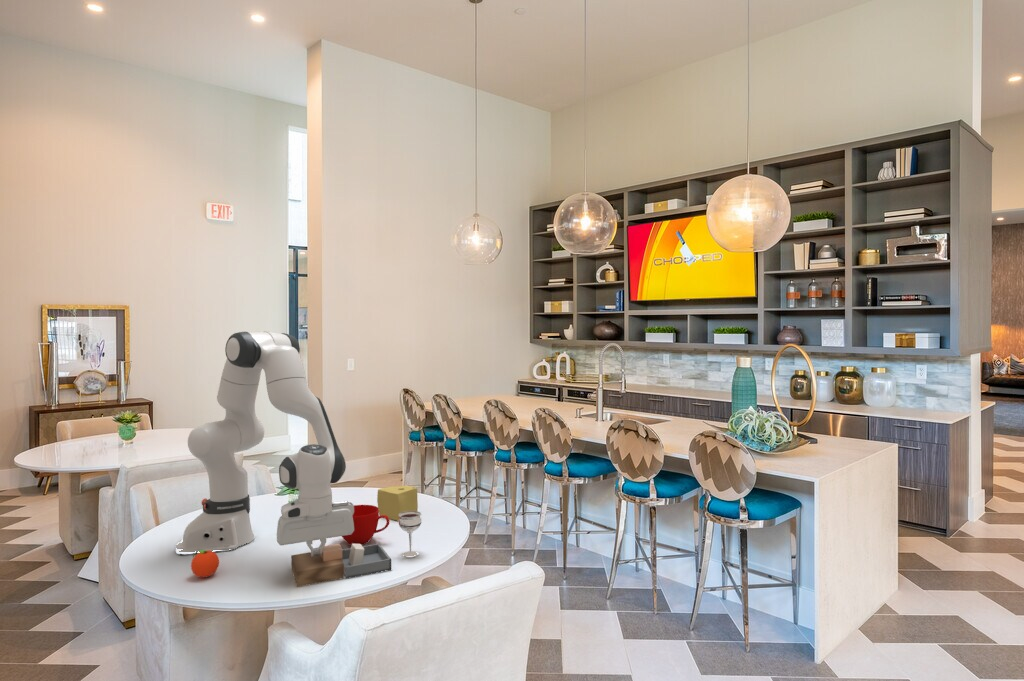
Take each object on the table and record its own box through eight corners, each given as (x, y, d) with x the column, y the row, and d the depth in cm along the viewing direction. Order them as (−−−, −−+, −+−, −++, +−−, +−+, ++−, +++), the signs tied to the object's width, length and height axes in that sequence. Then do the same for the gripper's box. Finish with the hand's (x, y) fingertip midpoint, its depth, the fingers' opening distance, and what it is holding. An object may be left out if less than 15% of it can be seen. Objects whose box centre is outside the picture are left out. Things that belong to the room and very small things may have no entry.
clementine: (182, 579, 166) (181, 553, 166) (203, 569, 173) (202, 544, 172) (204, 583, 163) (204, 556, 163) (225, 573, 170) (224, 547, 170)
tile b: (323, 561, 167) (323, 552, 167) (320, 555, 171) (320, 546, 171) (342, 558, 169) (342, 549, 169) (339, 552, 173) (339, 543, 173)
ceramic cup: (381, 551, 185) (380, 518, 185) (329, 548, 188) (328, 515, 188) (397, 536, 198) (396, 506, 197) (348, 534, 201) (348, 503, 201)
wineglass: (402, 549, 186) (401, 510, 185) (424, 550, 185) (423, 511, 185) (396, 558, 179) (395, 517, 179) (418, 558, 178) (418, 517, 178)
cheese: (398, 509, 227) (398, 483, 227) (419, 514, 221) (419, 487, 221) (377, 517, 219) (376, 489, 219) (398, 522, 213) (397, 493, 213)
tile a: (355, 549, 170) (364, 549, 172) (351, 543, 175) (360, 543, 176) (352, 567, 170) (361, 567, 171) (348, 561, 175) (357, 561, 176)
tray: (346, 578, 165) (345, 567, 165) (336, 560, 178) (336, 550, 177) (391, 569, 170) (391, 559, 170) (379, 553, 183) (379, 543, 183)
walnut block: (297, 586, 160) (296, 571, 160) (291, 569, 172) (291, 555, 172) (343, 578, 165) (343, 563, 165) (335, 561, 177) (335, 548, 177)
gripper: (351, 497, 175) (352, 545, 175) (275, 507, 166) (276, 557, 167) (356, 502, 169) (357, 552, 170) (277, 513, 161) (278, 565, 161)
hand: (316, 555), depth 168 cm, fingers closed
